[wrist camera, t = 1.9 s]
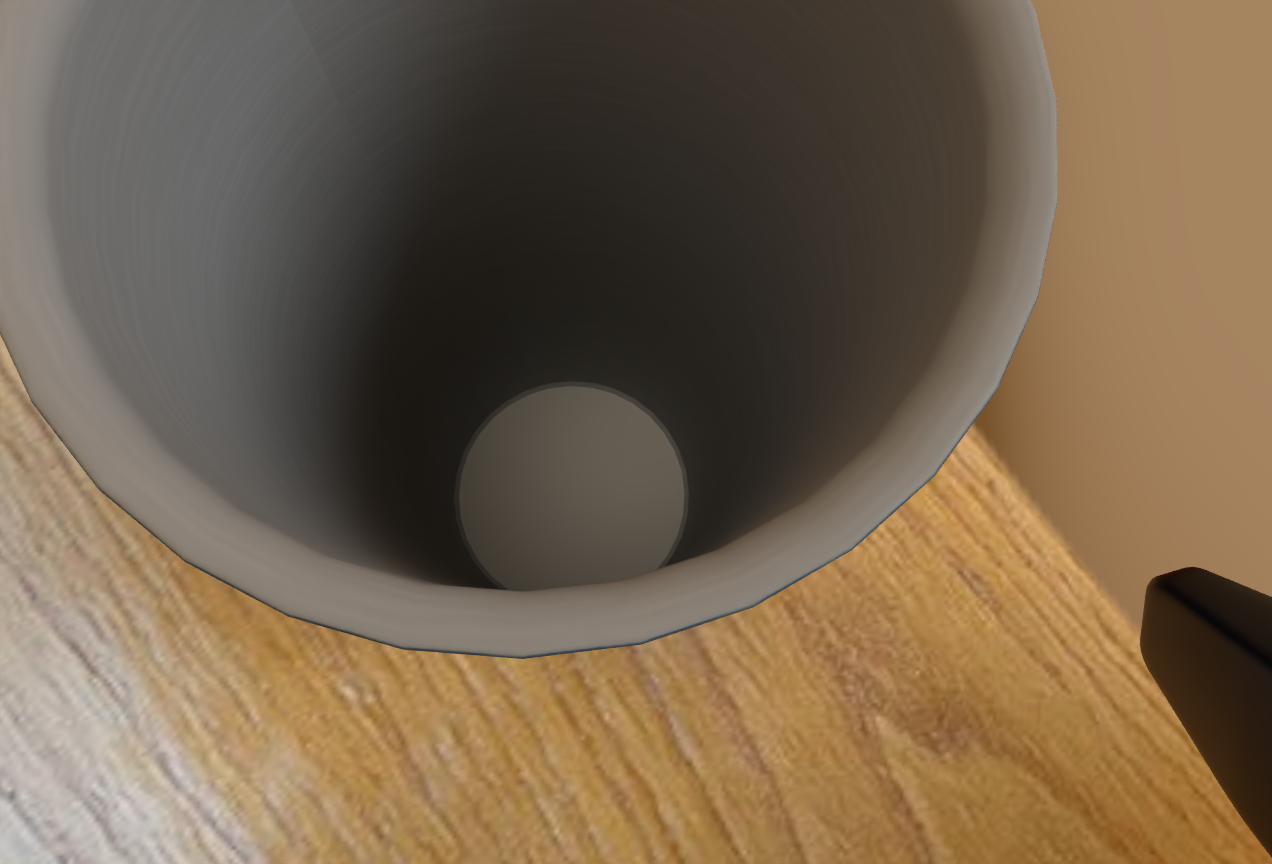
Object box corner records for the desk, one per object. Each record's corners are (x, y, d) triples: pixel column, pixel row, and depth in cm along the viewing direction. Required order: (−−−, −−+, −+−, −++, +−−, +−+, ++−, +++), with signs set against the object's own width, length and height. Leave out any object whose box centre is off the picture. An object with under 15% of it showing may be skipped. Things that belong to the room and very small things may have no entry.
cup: (814, 494, 22) (1276, 99, 7) (575, 751, 20) (523, 935, 6) (570, 269, 22) (523, -502, 8) (326, 501, 21) (-275, 101, 7)
